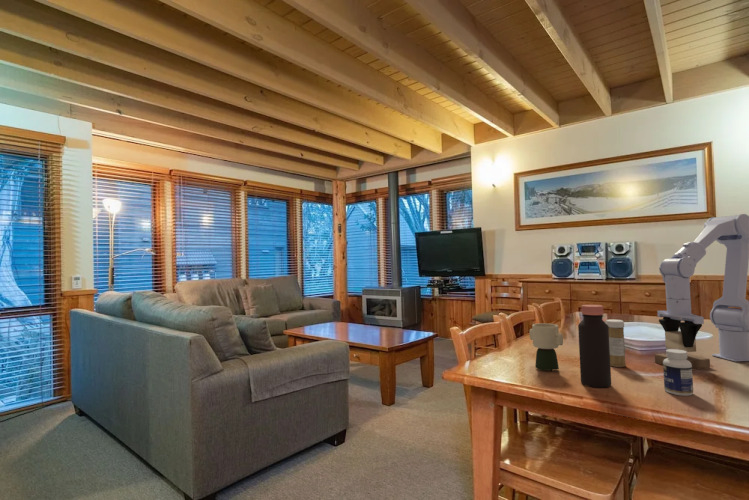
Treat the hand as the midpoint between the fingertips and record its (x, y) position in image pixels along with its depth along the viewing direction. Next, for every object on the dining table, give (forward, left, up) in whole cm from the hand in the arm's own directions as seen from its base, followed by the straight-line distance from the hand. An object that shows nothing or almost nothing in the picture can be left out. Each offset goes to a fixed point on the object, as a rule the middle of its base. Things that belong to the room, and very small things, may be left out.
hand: (680, 345), depth 114 cm
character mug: (+40, 0, -6) cm, 40 cm away
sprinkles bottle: (+18, -2, -6) cm, 19 cm away
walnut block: (0, 0, -6) cm, 6 cm away
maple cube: (0, 0, -1) cm, 1 cm away
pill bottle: (+19, +22, -6) cm, 30 cm away
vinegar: (+34, +14, -6) cm, 37 cm away
